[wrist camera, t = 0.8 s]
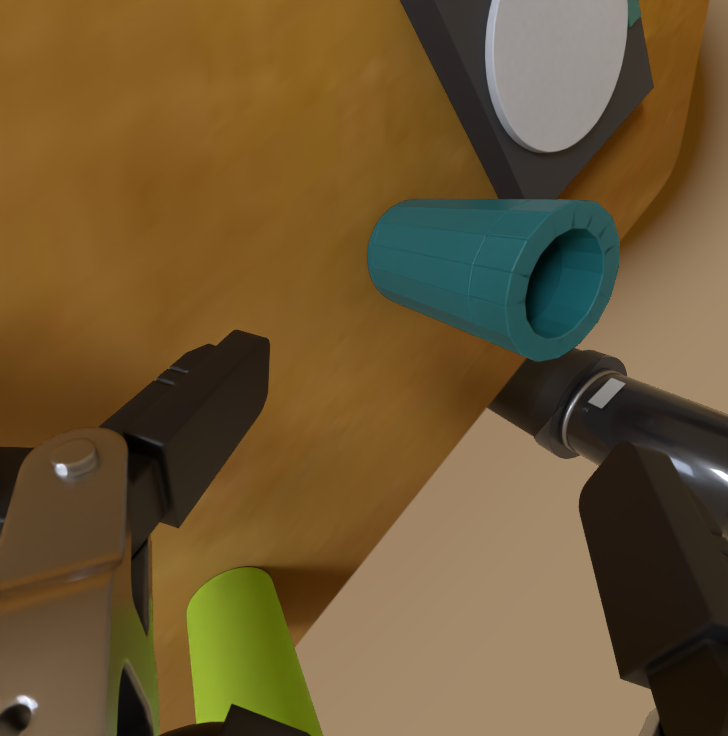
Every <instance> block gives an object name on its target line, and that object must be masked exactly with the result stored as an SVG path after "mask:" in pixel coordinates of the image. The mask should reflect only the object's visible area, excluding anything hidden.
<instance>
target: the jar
mask: <svg viewBox="0 0 728 736" xmlns="http://www.w3.org/2000/svg"><path fill="white" fill-rule="evenodd" d="M619 249H620V241H619V236H618V233H617V230H616V226H615V223H614V220H613V217H612V216H611V215H610V214H609V213H608V212H607V211H606V210H605V209H604V208H603V207H602V206H601V205H600V204H599V203H598V202H594V201H587V200H569V199H534V200H533V199H412V200H406V201H403V202H400V203H398V204H396V205H394V206H393V207H391V208H390V209H389V210H388V211H387V212H386V213H385V214H384V215H383V216H382V217H381V218H380V220H379V221H378V223H377V224H376V226H375V228H374V230H373V232H372V235H371V238H370V241H369V246H368V254H367V260H368V269H369V273H370V276H371V279H372V281H373V283H374V285H375V286H376V288H377V289H378V291H379V292H380V293H381V294H382V295H383V296H385V297H386V298H388V299H389V300H391V301H394V302H396V303H398V304H401V305H403V306H405V307H408V308H410V309H413V310H415V311H417V312H420V313H422V314H424V315H427V316H429V317H432V318H434V319H436V320H439V321H441V322H444V323H446V324H448V325H451V326H453V327H455V328H458V329H460V330H463V331H465V332H467V333H470V334H472V335H474V336H477V337H479V338H482V339H484V340H486V341H489V342H491V343H493V344H496V345H498V346H501V347H503V348H505V349H508V350H510V351H513V352H515V353H517V354H520V355H522V356H524V357H527V358H529V359H532V360H534V361H536V362H539V361H545V360H551V359H556V358H559V357H561V356H562V355H564V354H565V353H567V352H569V351H570V350H572V349H573V348H575V347H576V346H577V345H578V344H580V342H581V341H582V340H583V339H584V338H585V337H586V335H587V334H588V333H589V332H590V331H591V330H592V328H593V327H594V326H595V324H596V323H597V322H598V321H599V319H600V317H601V315H602V313H603V311H604V309H605V307H606V305H607V304H608V302H609V300H610V297H611V294H612V291H613V287H614V283H615V280H616V276H617V273H618V268H619Z"/></svg>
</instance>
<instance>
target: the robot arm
mask: <svg viewBox="0 0 728 736" xmlns="http://www.w3.org/2000/svg"><path fill="white" fill-rule="evenodd" d="M269 357H270V343H269V340H268V339H267V338H264V337H261V336H258V335H254V334H251V333H247V332H244V331H240V330H234V331H232V332H231V333H230V334H229V335H228V336H227V337H226V338H224V339H223V340H222V341H221V342H220V343H219V344H218V345H217V346H214V345H211V344H206V345H204V346H202V347H199V348H197V349H194V350H192V351H189V352H187V353H186V354H184V355H183V356H182V357H181V358H180V359H178V360H177V361H176V362H175V363H174V364H173V365H171V366H170V369H167V370H165V371H164V372H163V373H162V374H161V375H160V376H158V377H157V380H156V381H152V382H151V383H150V384H149V385H148V386H147V387H145V388H144V389H143V390H142V391H141V392H139V393H138V394H137V395H136V396H135V397H134V398H132V399H131V400H130V401H129V402H128V403H126V404H125V405H124V406H123V407H122V408H120V409H119V410H118V411H117V412H116V413H115V414H113V415H112V416H111V417H110V418H109V419H107V420H106V421H105V422H104V423H103V424H102V425H100V426H99V427H86V428H78V429H73V430H69V431H66V432H63V433H60V434H58V435H55V436H53V437H51V438H49V439H47V440H45V441H44V442H42V443H41V444H39V445H38V446H37V447H36V448H21V447H0V736H311V735H310V734H308V733H307V732H304V731H302V730H299V729H297V728H294V727H291V726H289V725H286V724H284V723H281V722H279V721H276V720H273V719H271V718H268V717H266V716H263V715H260V714H258V713H255V712H253V711H250V710H247V709H245V708H242V707H240V706H237V705H235V704H231V706H230V709H229V711H228V714H227V716H226V718H225V721H224V722H204V723H198V724H192V725H187V726H184V727H181V728H178V729H174V730H171V731H168V732H166V733H163V734H161V735H159V697H158V680H157V669H156V661H155V655H154V644H153V595H152V541H151V535H150V534H151V532H152V531H153V530H154V529H155V527H156V526H157V525H158V523H159V522H162V523H165V524H168V525H171V526H173V527H176V528H179V527H180V526H181V524H182V523H183V521H184V520H185V519H186V517H187V516H188V514H189V513H190V512H191V510H192V509H193V507H194V506H195V505H196V503H197V502H198V500H199V499H200V498H201V496H202V495H203V493H204V492H205V491H206V489H207V488H208V486H209V485H210V483H211V482H212V481H213V479H214V478H215V476H216V475H217V474H218V472H219V471H220V469H221V468H222V467H223V465H224V464H225V462H226V461H227V460H228V458H229V457H230V455H231V454H232V452H233V451H234V450H235V448H236V447H237V445H238V444H239V443H240V441H241V440H242V438H243V437H244V436H245V434H246V433H247V431H248V430H249V429H250V427H251V426H252V424H253V423H254V422H255V420H256V419H257V417H258V416H259V414H260V413H261V411H262V409H263V407H264V404H265V401H266V398H267V394H268V381H269ZM558 431H559V439H560V441H561V443H562V445H563V446H565V447H566V448H568V449H569V450H571V451H573V452H575V453H578V454H580V455H582V456H583V457H585V458H587V459H588V460H590V461H592V462H593V463H595V464H597V465H598V466H599V467H598V468H597V470H596V471H595V472H594V473H593V475H592V476H591V477H590V478H589V480H588V481H587V482H586V484H585V485H584V487H583V489H582V491H581V494H580V499H579V512H580V517H581V521H582V525H583V529H584V533H585V537H586V541H587V545H588V549H589V553H590V557H591V561H592V565H593V569H594V573H595V577H596V581H597V586H598V589H599V594H600V597H601V602H602V606H603V610H604V614H605V618H606V622H607V626H608V630H609V634H610V638H611V642H612V646H613V650H614V654H615V658H616V662H617V666H618V670H619V674H620V678H621V679H623V680H626V681H629V682H631V683H635V684H637V685H640V686H643V687H646V688H649V689H651V691H652V695H653V698H654V702H655V705H656V708H655V709H654V710H652V711H651V712H650V713H649V715H648V716H647V718H646V720H645V723H644V725H643V728H642V729H641V732H640V734H639V736H728V414H726V413H723V412H721V411H718V410H715V409H713V408H710V407H707V406H704V405H702V404H699V403H696V402H694V401H691V400H688V399H686V398H683V397H680V396H677V395H675V394H672V393H670V392H667V391H664V390H662V389H659V388H656V387H653V386H651V385H648V384H646V383H643V382H640V381H637V380H635V379H632V378H630V377H627V376H624V375H622V374H621V373H619V372H616V371H614V370H611V369H601V370H598V371H596V372H594V373H592V374H590V375H589V376H588V377H586V378H585V379H584V380H583V381H582V382H581V383H580V384H579V385H578V386H577V388H576V389H575V390H574V391H573V393H572V394H571V396H570V397H569V399H568V401H567V403H566V405H565V407H564V409H563V412H562V414H561V418H560V422H559V430H558Z"/></svg>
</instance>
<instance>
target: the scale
mask: <svg viewBox="0 0 728 736" xmlns="http://www.w3.org/2000/svg"><path fill="white" fill-rule="evenodd" d="M400 1H401V3H402V5H403V7H404V9H405V11H406V13H407V15H408V17H409V19H410V21H411V23H412V25H413V27H414V29H415V31H416V33H417V35H418V37H419V39H420V41H421V43H422V45H423V47H424V49H425V51H426V53H427V55H428V57H429V59H430V61H431V63H432V65H433V67H434V69H435V71H436V73H437V75H438V77H439V79H440V81H441V83H442V85H443V87H444V89H445V91H446V93H447V95H448V97H449V99H450V101H451V103H452V105H453V107H454V109H455V111H456V113H457V115H458V117H459V119H460V121H461V123H462V125H463V127H464V129H465V131H466V133H467V135H468V137H469V139H470V141H471V143H472V145H473V147H474V149H475V151H476V153H477V155H478V157H479V159H480V161H481V163H482V165H483V167H484V169H485V171H486V173H487V175H488V177H489V179H490V181H491V183H492V185H493V187H494V189H495V191H496V193H497V195H498V197H499V199H533V200H534V199H556V198H557V197H558V196H559V195H560V193H561V192H562V191H563V190H564V189H565V188H566V187H567V186H568V184H569V183H570V182H571V181H572V180H573V179H574V178H575V176H576V175H577V174H578V173H579V172H580V171H581V170H582V168H583V167H584V166H585V165H586V164H587V163H588V162H589V160H590V159H591V158H592V157H593V156H594V155H595V154H596V152H597V151H598V150H599V149H600V148H601V147H602V146H603V145H604V143H605V142H606V141H607V140H608V139H609V138H610V137H611V135H612V134H613V133H614V132H615V131H616V130H617V129H618V127H619V126H620V125H621V124H622V123H623V122H624V121H625V119H626V118H627V117H628V116H629V115H630V114H631V113H632V111H633V110H634V109H635V108H636V107H637V106H638V105H639V104H640V102H641V101H642V100H643V99H644V98H645V97H646V96H647V94H648V93H649V92H650V91H651V90H652V89H653V87H654V86H653V81H652V76H651V70H650V65H649V59H648V54H647V48H646V43H645V38H644V32H643V27H642V21H641V12H640V7H639V1H638V0H400Z"/></svg>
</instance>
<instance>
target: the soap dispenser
mask: <svg viewBox="0 0 728 736" xmlns="http://www.w3.org/2000/svg"><path fill="white" fill-rule="evenodd" d="M186 617H187V627H188V638H189V649H190V659H191V670H192V680H193V691H194V702H195V712H196V723H197V724H198V723H204V722H224V721H225V718H226V716H227V714H228V711H229V709H230V706H231V704H235V705H237V706H240V707H242V708H245V709H247V710H250V711H253V712H255V713H258V714H260V715H263V716H266V717H268V718H271V719H273V720H276V721H279V722H281V723H284V724H286V725H289V726H291V727H294V728H297V729H299V730H302V731H304V732H307V733H308V734H310V735H311V736H323V734H322V731H321V728H320V725H319V722H318V719H317V715H316V713H315V709H314V706H313V703H312V701H311V697H310V694H309V691H308V688H307V685H306V682H305V679H304V676H303V673H302V670H301V667H300V664H299V660H298V658H297V654H296V651H295V648H294V645H293V642H292V639H291V636H290V633H289V630H288V627H287V624H286V621H285V618H284V615H283V612H282V609H281V605H280V602H279V599H278V596H277V593H276V590H275V587H274V584H273V581H272V579H271V577H270V576H269V575H268V574H267V573H266V572H265V571H263V570H261V569H258V568H253V567H243V568H236V569H232V570H229V571H226V572H224V573H221V574H219V575H217V576H216V577H214V578H212V579H211V580H209V581H208V582H207V583H205V584H204V585H203V586H202V587H201V588H200V589H199V590H198V591H197V592H196V593H195V594H194V596H193V597H192V599H191V601H190V603H189V605H188V608H187V614H186Z"/></svg>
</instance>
